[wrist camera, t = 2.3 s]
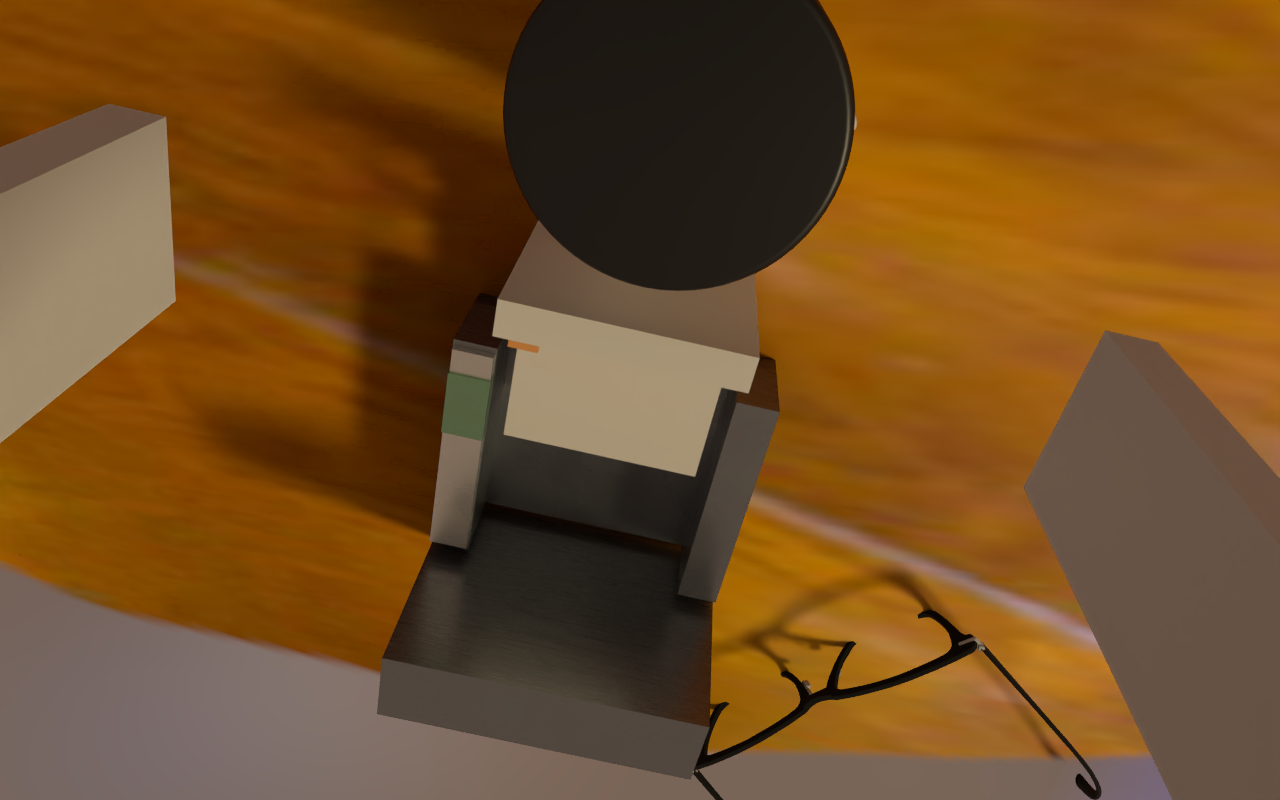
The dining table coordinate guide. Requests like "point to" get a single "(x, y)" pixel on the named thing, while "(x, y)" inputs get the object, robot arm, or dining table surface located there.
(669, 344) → the beige angular block
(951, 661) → the eyeglasses
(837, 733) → the dining table surface
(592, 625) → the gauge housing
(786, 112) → the jar
